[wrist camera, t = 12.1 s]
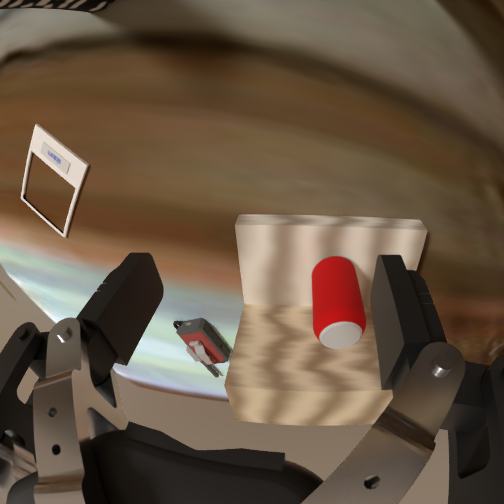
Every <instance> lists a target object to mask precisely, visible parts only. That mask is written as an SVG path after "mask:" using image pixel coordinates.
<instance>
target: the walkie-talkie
mask: <svg viewBox="0 0 504 504" xmlns="http://www.w3.org/2000/svg"><path fill="white" fill-rule="evenodd" d="M177 324H178V325H179V327H178V326H177ZM173 325H174V327H175V328H176V329H177V332H176V333H177V334H178V335H179V336H180V337H181V338H182V340H183V341H184V342H185V344H186V345H187V352H188V353H189V354H190V355H191V356H192V358H193V359H194V360H195V361H200V362H201V363H202V364H203V365H204V366H205V367H206V368H207V369H208V370H209V371H210V372H211V373H212V374H213V375H214V376H215V377H219V374H218V373H217V372H216V371H215V370H214V369H213V368H212V367H211V366H210V365H209V364H216V363H224V362H226V361H228V358H229V354H230V350H229V349H228V348H227V346H226V345H225V344H224V343H223V341H222V340H221V339H220V338H219V337H218V335H217V334H216V332H214V330H213V329H212V328H211V327H210V325H209V323H207V321H206V320H205V319H203V318H199V319H194V320H188V321H183V322H179V321H174V323H173Z"/></svg>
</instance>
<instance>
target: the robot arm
mask: <svg viewBox="0 0 504 504" xmlns="http://www.w3.org/2000/svg"><path fill="white" fill-rule="evenodd" d="M163 291H164V290H163V284H162V281H161V278H160V276H159V273H158V270H157V268H156V265H155V262H154V260H153V257H152V255H151V254H150V253H130V254H129V255H128V256H127V257H126V258H125V259H124V261H123V262H122V263H121V264H120V266H118V267H117V268H116V269H115V270H113V271H112V272H111V273H110V274H109V275H108V276H107V277H106V279H105V280H104V281H103V284H101V285H100V286H99V288H98V289H97V292H95V293H94V294H93V296H92V297H91V298H90V300H89V301H88V302H87V304H86V305H85V306H84V308H83V309H82V311H81V312H80V313H79V315H78V316H77V317H76V319H75V318H66V319H63V320H61V321H59V322H58V323H57V324H56V325H55V326H54V327H53V328H52V329H51V331H50V332H42V333H40V331H39V330H38V329H37V327H36V326H35V324H33V323H31V322H27V323H24V324H23V325H21V326H20V327H18V328H17V330H16V331H15V332H14V333H13V335H12V336H11V338H10V339H9V341H8V343H7V344H6V346H5V347H4V349H3V350H2V352H1V353H0V498H1V499H2V500H3V501H4V502H6V504H399V502H400V501H401V500H402V498H403V497H404V496H405V494H406V493H407V492H408V490H409V489H410V487H411V486H412V485H413V483H414V482H415V480H416V479H417V477H418V476H419V474H420V473H421V471H422V470H423V468H424V467H425V465H426V463H427V462H428V460H429V459H430V457H431V455H432V453H433V451H434V448H435V444H436V443H435V442H434V439H435V437H436V435H437V433H438V431H439V429H444V430H448V439H449V496H448V504H504V355H501V356H499V357H497V358H496V359H495V360H494V361H493V363H492V364H491V365H490V366H488V365H482V364H477V363H472V362H468V361H465V360H464V357H463V355H462V354H461V352H460V351H459V350H458V349H457V348H456V347H454V346H453V345H451V344H448V343H447V340H446V337H445V334H444V331H443V328H442V325H441V322H440V319H439V317H438V314H437V311H436V308H435V306H434V305H433V300H432V298H431V295H429V290H428V288H427V285H426V283H425V280H424V279H423V278H422V277H421V276H420V275H419V274H418V273H417V272H416V271H415V270H407V269H406V266H405V264H404V261H403V259H402V256H401V255H378V257H377V261H376V267H375V272H374V278H373V283H372V288H371V295H370V305H371V312H372V318H373V325H374V331H375V338H376V345H377V352H378V360H379V369H380V379H381V389H382V390H392V393H393V398H392V400H391V401H390V403H389V404H388V406H387V407H386V409H385V410H384V411H383V413H382V414H381V415H380V416H379V418H378V419H377V420H376V422H375V423H374V424H373V426H372V427H371V429H370V430H369V431H368V432H367V434H366V435H365V436H364V437H363V439H362V440H361V441H360V442H359V443H358V445H357V446H356V447H355V448H354V449H353V451H352V452H351V453H350V454H349V455H348V456H347V457H346V459H345V460H344V461H343V462H342V463H341V464H340V465H339V467H337V469H336V470H335V471H334V472H333V473H332V474H331V475H330V476H329V477H328V478H327V479H326V480H325V481H323V480H322V479H321V478H320V477H318V476H317V475H316V474H314V473H313V472H312V471H309V470H308V469H306V468H305V467H302V466H300V465H297V464H296V463H293V462H290V461H286V460H285V453H280V452H268V451H259V450H250V449H242V448H240V449H225V450H195V449H192V448H190V447H188V446H186V445H184V444H183V443H181V442H179V441H177V440H175V439H173V438H171V437H170V436H168V435H166V434H165V433H163V432H161V431H158V430H154V429H151V428H148V427H144V426H141V425H138V424H135V423H132V422H129V421H128V419H127V418H126V416H125V414H124V410H123V406H122V402H121V398H120V393H119V388H118V384H117V378H116V373H115V371H114V369H113V368H112V367H113V365H114V363H118V364H122V365H126V366H127V364H128V362H129V360H130V358H131V356H132V354H133V353H134V351H135V349H136V347H137V345H138V343H139V341H140V339H141V337H142V335H143V333H144V332H145V330H146V328H147V326H148V324H149V322H150V320H151V319H152V317H153V315H154V313H155V311H156V309H157V308H158V306H159V304H160V302H161V300H162V298H163ZM28 367H30V368H31V369H32V370H33V371H34V372H35V374H36V375H37V376H38V377H39V379H38V381H37V382H36V383H35V385H34V389H33V391H32V393H31V395H30V396H29V399H28V401H27V403H26V404H24V403H23V402H21V401H20V400H19V399H18V396H17V388H18V386H19V384H20V382H21V380H22V378H23V376H24V374H25V373H26V371H27V369H28ZM6 430H7V432H5V431H6ZM36 463H37V464H36Z"/></svg>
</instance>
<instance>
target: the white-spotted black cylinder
mask: <svg viewBox="0 0 504 504" xmlns="http://www.w3.org/2000/svg"><path fill="white" fill-rule="evenodd" d="M114 1H115V0H0V9H12V8H47V9H63V10H74V11H83V12H91V13H93V12H98V11H101V10H103V9H105V8H106V7H108V6H109V5H110V4H112V3H113V2H114Z"/></svg>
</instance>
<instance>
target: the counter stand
mask: <svg viewBox="0 0 504 504" xmlns="http://www.w3.org/2000/svg"><path fill="white" fill-rule="evenodd" d="M235 229H236V237H237V246H238V255H239V263H240V271H241V280H242V288H243V296H244V307H243V311H242V315H241V320H240V324H239V328H238V332H237V336H236V340H235V344H234V348H233V352H232V356H231V360H230V364H229V368H228V373H227V377H226V381H225V385H224V386H225V389H226V392H227V395H228V398H229V401H230V404H231V408H232V411H233V414H234V416H235V419H236V420H240V421H249V422H259V423H270V424H286V425H287V424H288V425H357V424H372V423H375V422H376V420H377V419H378V418H379V416H380V415H381V414H382V413H383V411H384V410H385V409H386V407H387V406H388V404H389V403H390V401H391V400H392V398H393V393H392V390H382V389H381V379H380V369H379V360H378V352H377V345H376V338H375V331H374V325H373V318H372V312H371V305H370V295H371V288H372V283H373V278H374V272H375V267H376V261H377V257H378V255H401V256H402V259H403V261H404V264H405V266H406V269H407V270H415V271H416V270H417V267H418V263H419V260H420V257H421V253H422V249H423V246H424V242H425V238H426V234H427V229H426V228H425V226H424V225H423V223H422V222H421V220H412V219H395V218H375V217H351V216H319V215H239V217H238V219H237V221H236V224H235ZM329 256H342V257H345V258H347V259H349V260H350V261H351V262H352V264H353V265H354V267H355V270H356V274H357V278H358V283H359V287H360V291H361V296H362V301H363V305H364V310H365V315H366V328H365V331H364V333H363V335H362V337H361V339H360V340H359V341H358V342H357V343H356V344H354V345H353V346H350V347H348V348H344V349H331V348H328V347H325V346H324V345H322V344H321V342H320V341H319V340H318V339H317V337H316V336H315V334H314V331H313V309H312V278H311V275H312V271H313V269H314V267H315V266H316V264H317V263H318V262H320V261H321V260H322V259H324V258H326V257H329Z"/></svg>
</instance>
